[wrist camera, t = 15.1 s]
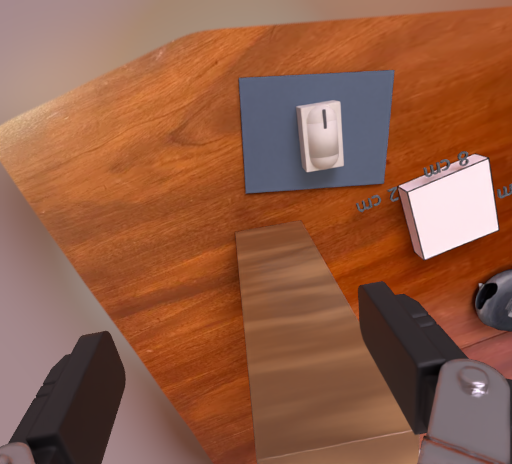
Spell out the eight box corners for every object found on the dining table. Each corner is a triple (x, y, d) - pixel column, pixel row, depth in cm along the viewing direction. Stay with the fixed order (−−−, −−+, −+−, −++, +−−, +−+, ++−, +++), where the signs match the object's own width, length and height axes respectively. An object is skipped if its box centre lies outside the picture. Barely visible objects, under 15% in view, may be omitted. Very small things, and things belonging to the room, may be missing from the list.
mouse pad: (245, 192, 41) (245, 193, 41) (238, 78, 36) (238, 78, 36) (382, 182, 42) (383, 183, 42) (392, 70, 37) (394, 70, 37)
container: (374, 268, 47) (383, 278, 44) (349, 189, 42) (357, 196, 40) (527, 206, 45) (544, 213, 43) (517, 118, 41) (537, 121, 38)
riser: (234, 231, 43) (256, 460, 17) (301, 220, 43) (420, 429, 17) (250, 314, 48) (286, 589, 22) (310, 303, 48) (414, 563, 22)
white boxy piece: (295, 105, 38) (303, 108, 34) (333, 99, 38) (344, 101, 34) (302, 167, 40) (309, 176, 37) (337, 161, 40) (347, 169, 37)
